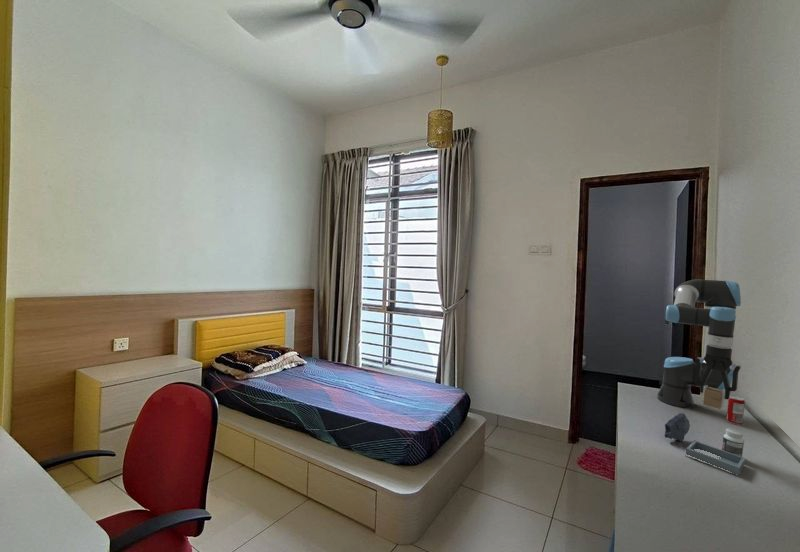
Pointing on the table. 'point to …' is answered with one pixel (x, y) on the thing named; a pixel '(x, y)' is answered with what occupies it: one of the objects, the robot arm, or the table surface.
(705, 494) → the table surface
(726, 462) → the tray
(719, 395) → the brown cube
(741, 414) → the soda can
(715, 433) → the table surface
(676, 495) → the table surface
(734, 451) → the pill bottle
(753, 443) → the table surface
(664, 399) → the robot arm
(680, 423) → the stone
